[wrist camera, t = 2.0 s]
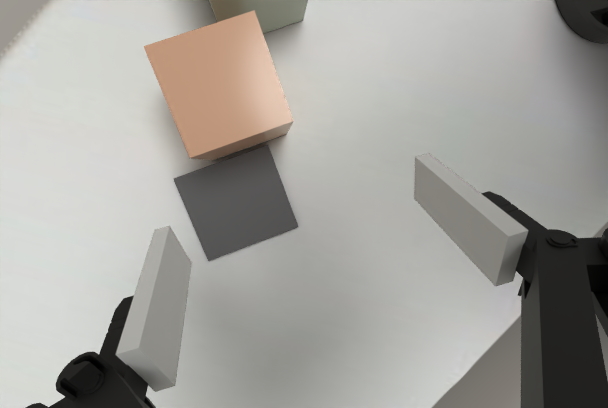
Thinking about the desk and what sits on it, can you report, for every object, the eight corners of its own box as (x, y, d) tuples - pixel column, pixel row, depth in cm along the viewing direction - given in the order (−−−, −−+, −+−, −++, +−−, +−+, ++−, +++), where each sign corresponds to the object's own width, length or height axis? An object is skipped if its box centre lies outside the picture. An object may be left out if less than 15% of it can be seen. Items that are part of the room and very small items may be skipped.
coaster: (267, 145, 35) (267, 144, 35) (297, 225, 37) (298, 226, 36) (175, 178, 35) (173, 178, 34) (209, 258, 36) (208, 260, 35)
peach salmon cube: (258, 55, 34) (254, 10, 24) (286, 133, 36) (293, 121, 26) (180, 81, 34) (143, 46, 24) (212, 160, 35) (189, 157, 25)
